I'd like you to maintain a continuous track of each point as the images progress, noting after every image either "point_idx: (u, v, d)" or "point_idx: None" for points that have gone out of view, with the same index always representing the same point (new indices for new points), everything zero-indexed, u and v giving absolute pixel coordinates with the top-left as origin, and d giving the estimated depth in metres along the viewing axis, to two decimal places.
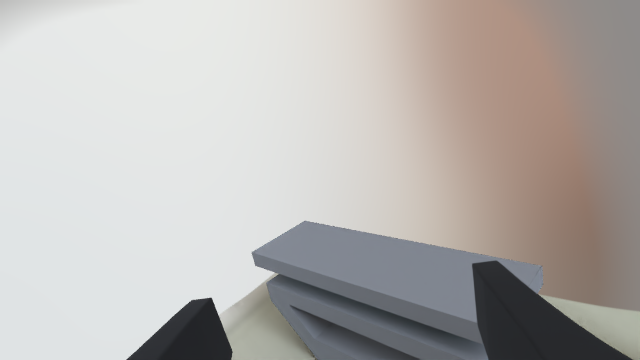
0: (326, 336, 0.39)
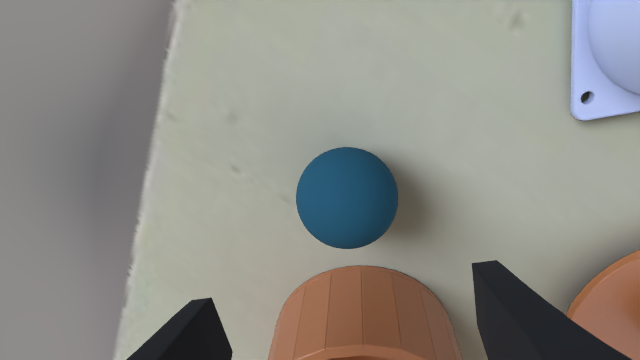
0: None
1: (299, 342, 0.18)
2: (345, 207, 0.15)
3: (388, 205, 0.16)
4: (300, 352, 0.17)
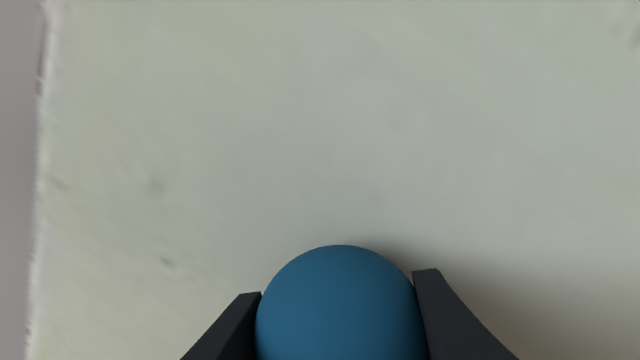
0: None
1: None
2: None
3: None
4: None
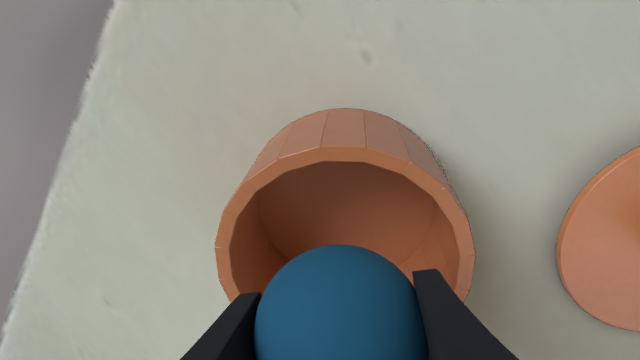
0: None
1: (286, 148, 0.15)
2: None
3: None
4: (287, 152, 0.14)
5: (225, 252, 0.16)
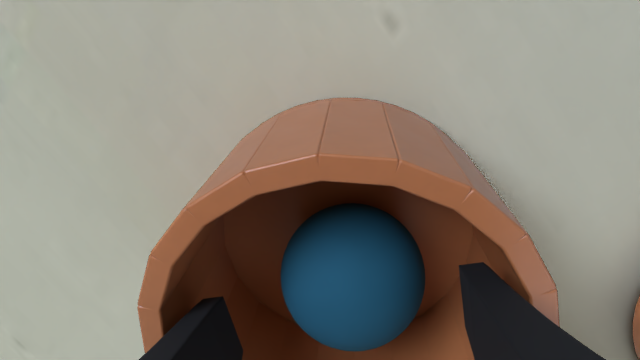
0: None
1: (260, 154, 0.09)
2: (362, 303, 0.10)
3: (419, 288, 0.11)
4: (261, 161, 0.08)
5: (155, 316, 0.10)
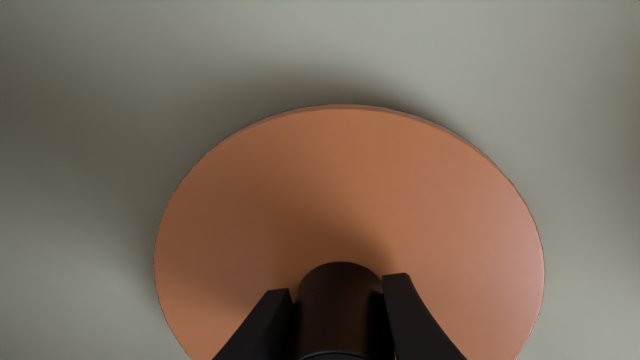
0: None
1: None
2: None
3: None
4: None
5: None
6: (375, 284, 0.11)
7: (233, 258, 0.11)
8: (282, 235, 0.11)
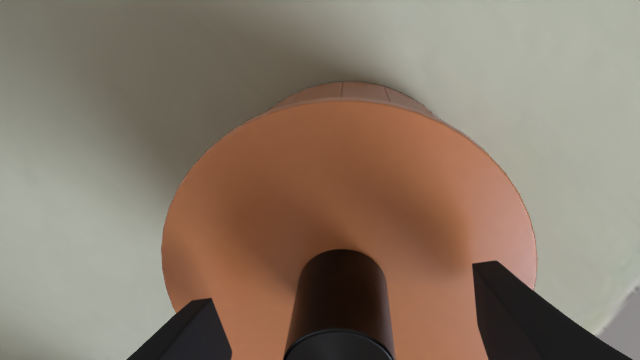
0: None
1: None
2: None
3: None
4: None
5: None
6: (374, 270, 0.11)
7: (238, 246, 0.12)
8: (285, 223, 0.11)
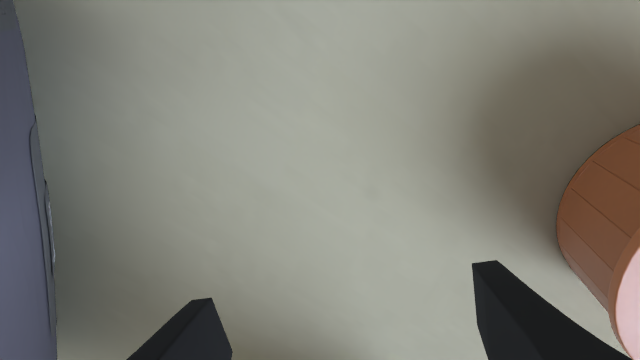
0: None
1: None
2: None
3: None
4: None
5: None
6: None
7: None
8: None
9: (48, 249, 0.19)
